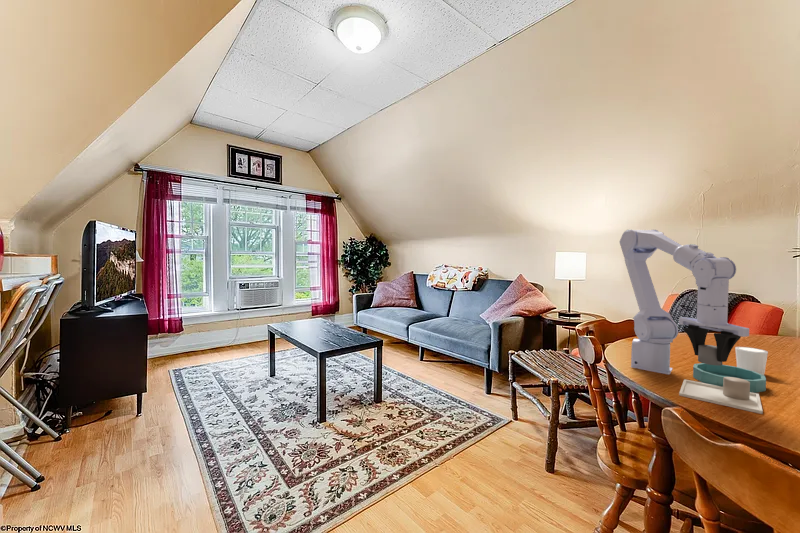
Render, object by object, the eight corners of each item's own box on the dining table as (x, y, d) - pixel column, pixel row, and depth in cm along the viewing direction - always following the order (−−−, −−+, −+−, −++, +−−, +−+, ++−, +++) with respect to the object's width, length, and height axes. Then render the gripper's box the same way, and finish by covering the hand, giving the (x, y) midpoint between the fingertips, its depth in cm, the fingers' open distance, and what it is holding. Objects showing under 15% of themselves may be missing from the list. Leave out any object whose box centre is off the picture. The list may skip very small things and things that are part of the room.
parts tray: (679, 397, 83) (679, 392, 83) (683, 383, 92) (684, 379, 92) (762, 416, 73) (762, 411, 73) (758, 398, 82) (758, 393, 82)
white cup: (728, 368, 105) (728, 346, 104) (748, 368, 105) (748, 346, 105) (753, 376, 98) (753, 352, 98) (774, 376, 98) (775, 352, 98)
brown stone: (722, 396, 82) (723, 380, 82) (722, 391, 86) (723, 375, 85) (749, 402, 79) (750, 385, 79) (749, 396, 82) (749, 380, 82)
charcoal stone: (700, 363, 85) (700, 347, 85) (696, 358, 89) (696, 343, 89) (724, 366, 83) (725, 350, 83) (719, 361, 87) (719, 346, 87)
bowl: (691, 383, 92) (691, 371, 92) (695, 371, 102) (695, 360, 102) (767, 399, 82) (767, 385, 82) (763, 383, 92) (763, 371, 92)
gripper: (670, 301, 92) (669, 351, 92) (734, 310, 78) (731, 368, 78) (691, 300, 93) (689, 349, 94) (756, 309, 79) (754, 366, 80)
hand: (710, 358), depth 86 cm, fingers closed on charcoal stone, 5 cm apart
